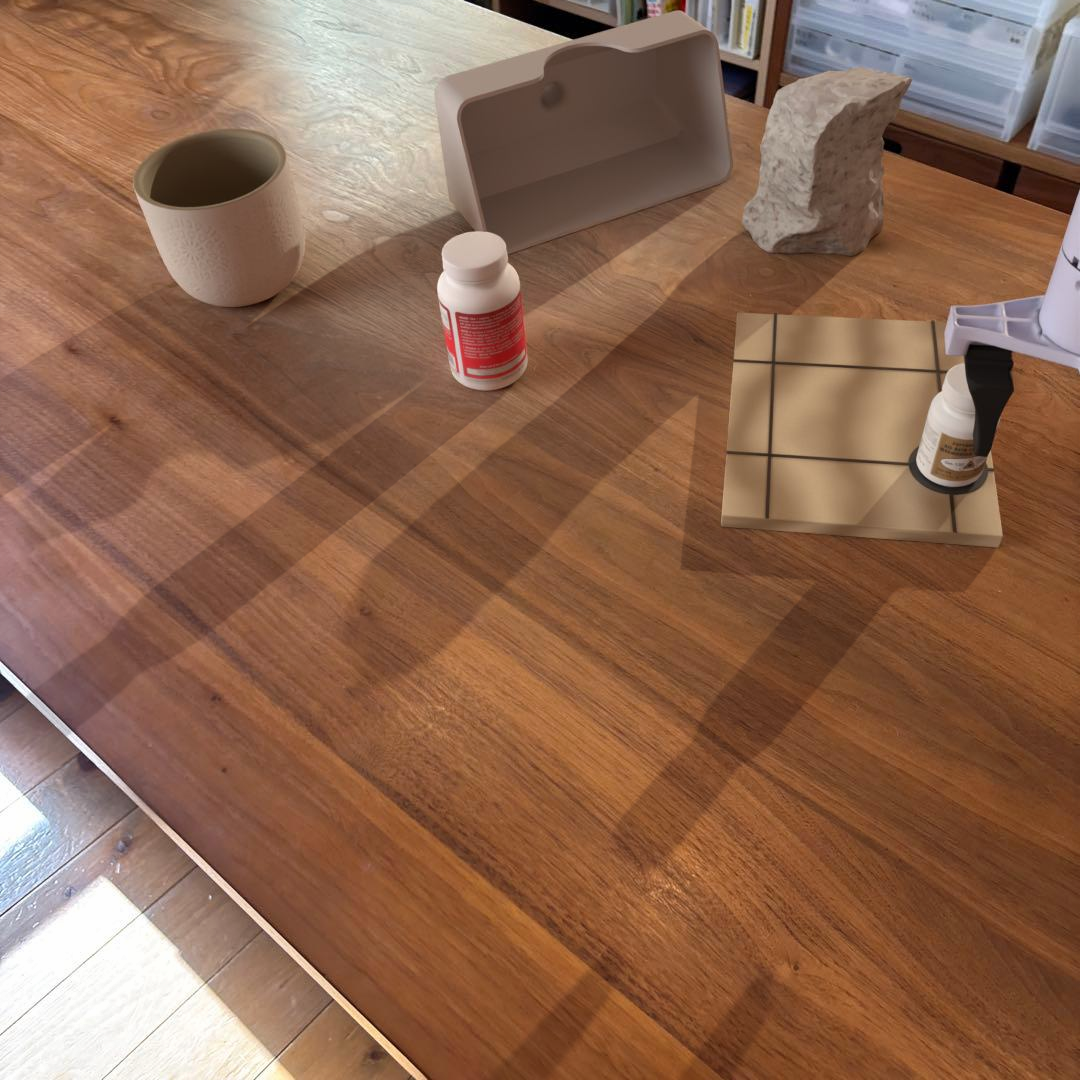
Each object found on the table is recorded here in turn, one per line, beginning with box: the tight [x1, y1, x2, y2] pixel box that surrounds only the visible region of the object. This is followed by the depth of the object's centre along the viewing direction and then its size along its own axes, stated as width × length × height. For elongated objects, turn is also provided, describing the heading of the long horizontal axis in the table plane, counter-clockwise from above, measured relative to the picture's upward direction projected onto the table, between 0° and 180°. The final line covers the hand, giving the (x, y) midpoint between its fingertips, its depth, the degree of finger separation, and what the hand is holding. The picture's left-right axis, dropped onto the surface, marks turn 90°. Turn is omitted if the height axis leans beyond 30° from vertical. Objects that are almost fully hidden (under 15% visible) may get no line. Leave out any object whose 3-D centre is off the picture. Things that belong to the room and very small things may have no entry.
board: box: [720, 312, 1004, 549], centre depth 80 cm, size 18×22×1 cm
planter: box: [132, 128, 306, 308], centre depth 94 cm, size 12×12×11 cm
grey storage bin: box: [434, 10, 734, 255], centre depth 101 cm, size 25×16×12 cm, turn 115°
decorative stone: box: [741, 66, 913, 257], centre depth 91 cm, size 10×9×15 cm
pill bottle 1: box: [436, 231, 528, 392], centre depth 84 cm, size 6×6×11 cm
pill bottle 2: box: [916, 363, 1002, 487], centre depth 73 cm, size 4×4×8 cm
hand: (1048, 450), depth 65 cm, fingers open, 7 cm apart
